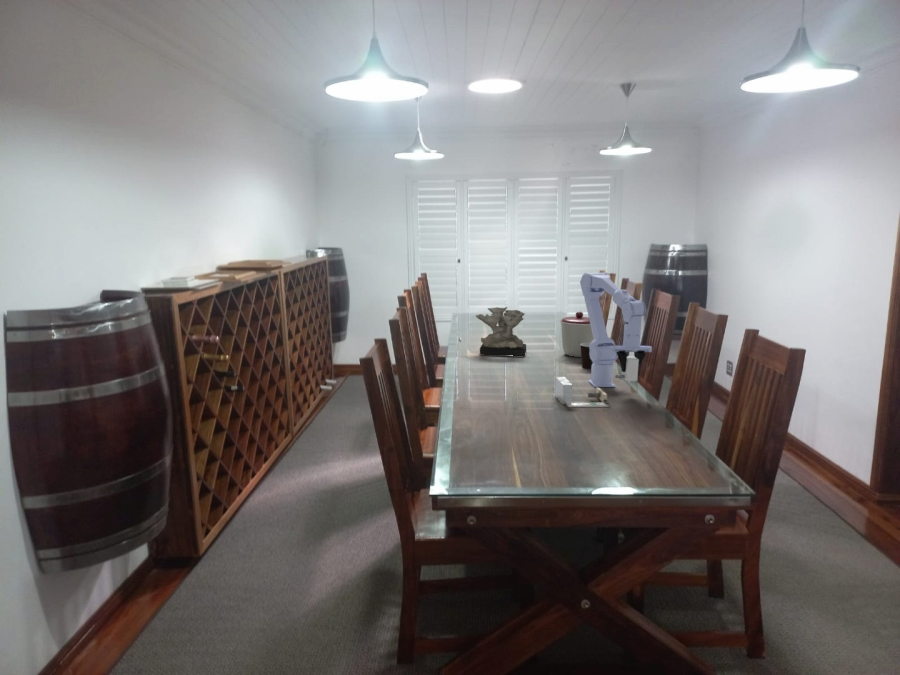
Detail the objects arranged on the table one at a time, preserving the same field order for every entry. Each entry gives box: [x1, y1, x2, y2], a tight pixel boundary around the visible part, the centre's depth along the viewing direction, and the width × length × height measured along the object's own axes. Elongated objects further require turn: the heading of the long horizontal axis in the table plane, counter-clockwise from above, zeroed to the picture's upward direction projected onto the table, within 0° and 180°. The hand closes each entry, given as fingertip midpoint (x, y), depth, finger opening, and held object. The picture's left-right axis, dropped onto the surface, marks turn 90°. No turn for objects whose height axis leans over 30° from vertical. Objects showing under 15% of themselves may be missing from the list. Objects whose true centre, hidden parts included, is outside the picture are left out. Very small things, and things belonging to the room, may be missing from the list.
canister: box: [559, 311, 594, 358], centre depth 282 cm, size 18×18×21 cm
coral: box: [475, 306, 527, 357], centre depth 288 cm, size 25×20×21 cm
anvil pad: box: [587, 387, 611, 405], centre depth 207 cm, size 14×5×3 cm, turn 3°
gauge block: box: [614, 355, 639, 382], centre depth 213 cm, size 5×7×8 cm
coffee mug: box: [580, 343, 593, 370], centre depth 258 cm, size 12×9×10 cm
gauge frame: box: [554, 376, 610, 408], centre depth 207 cm, size 14×15×7 cm
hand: (629, 371), depth 213 cm, fingers closed on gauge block, 4 cm apart
